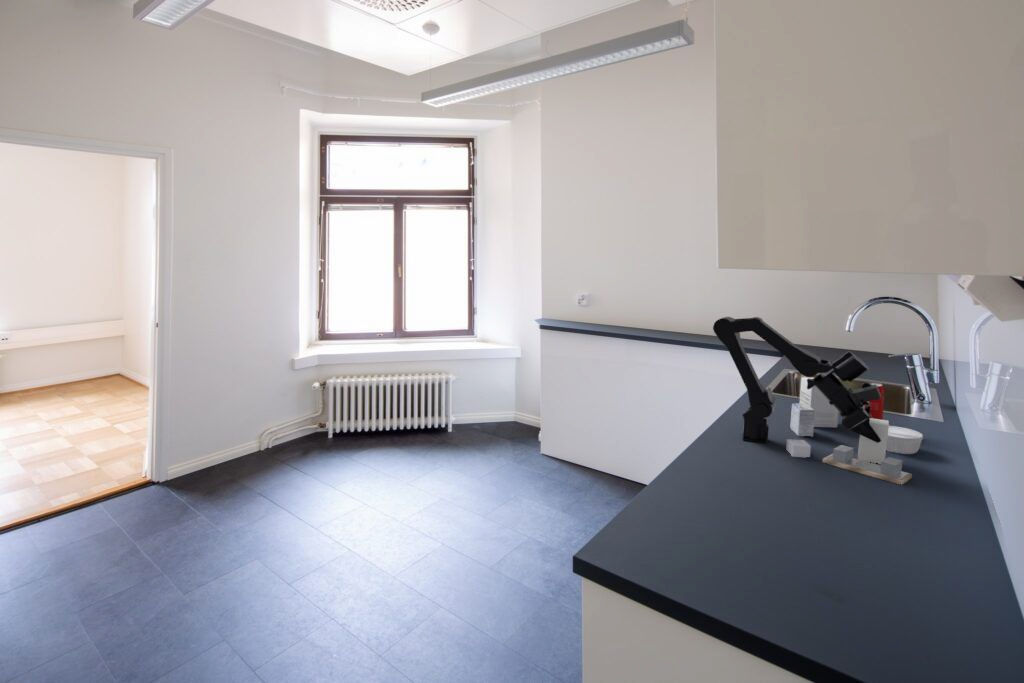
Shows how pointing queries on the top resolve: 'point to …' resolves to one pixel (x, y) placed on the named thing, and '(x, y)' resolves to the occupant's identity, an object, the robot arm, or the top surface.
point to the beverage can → (877, 404)
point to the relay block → (798, 448)
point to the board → (868, 472)
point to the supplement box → (819, 405)
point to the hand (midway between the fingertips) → (879, 437)
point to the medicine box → (802, 419)
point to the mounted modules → (887, 465)
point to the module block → (874, 443)
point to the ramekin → (903, 440)
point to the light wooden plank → (868, 467)
